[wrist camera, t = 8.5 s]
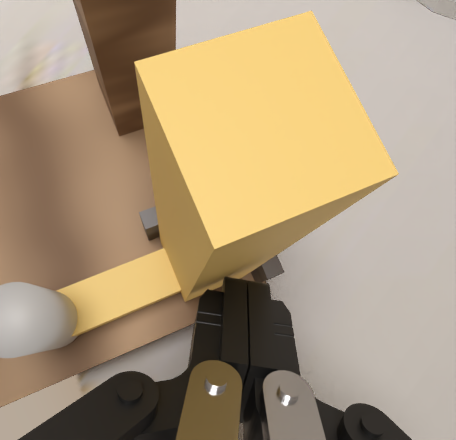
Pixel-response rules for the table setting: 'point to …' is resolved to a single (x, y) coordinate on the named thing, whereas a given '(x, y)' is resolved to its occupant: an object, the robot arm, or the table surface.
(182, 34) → the table surface
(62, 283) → the wooden pillar stand
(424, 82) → the table surface
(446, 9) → the french press
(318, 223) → the hinged leg
